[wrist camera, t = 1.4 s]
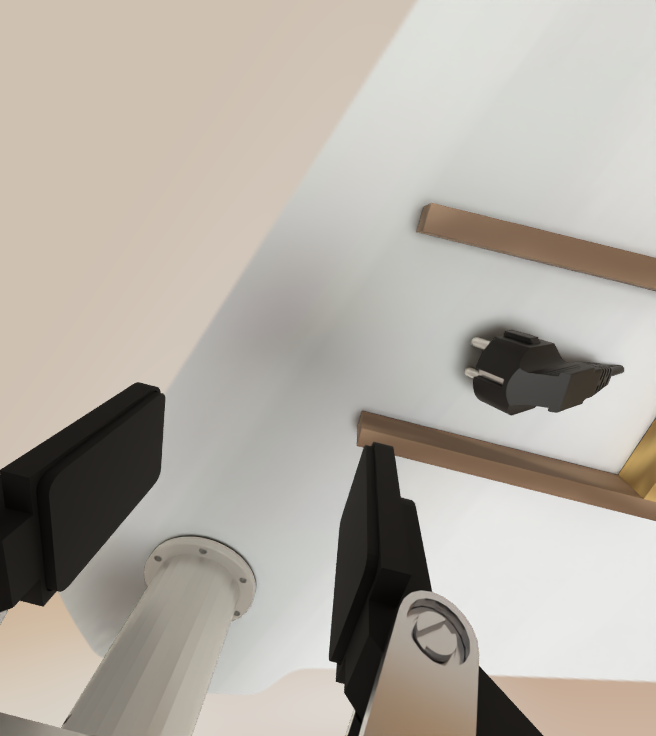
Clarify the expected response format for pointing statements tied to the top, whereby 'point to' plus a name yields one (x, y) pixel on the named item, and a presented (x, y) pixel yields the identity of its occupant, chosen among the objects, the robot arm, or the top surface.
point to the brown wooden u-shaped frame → (515, 467)
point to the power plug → (533, 375)
